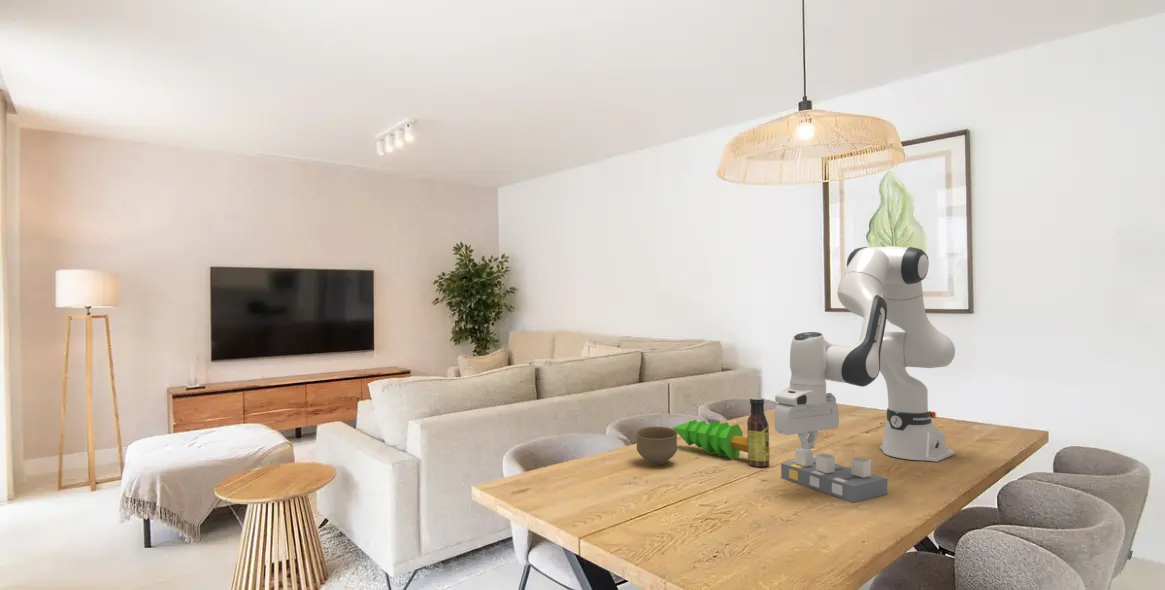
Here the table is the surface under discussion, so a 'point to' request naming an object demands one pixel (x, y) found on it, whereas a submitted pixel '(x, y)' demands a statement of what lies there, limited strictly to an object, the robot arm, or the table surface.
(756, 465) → the sauce bottle
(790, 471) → the console
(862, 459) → the knob
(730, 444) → the decorative tree
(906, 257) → the robot arm
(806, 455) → the knob
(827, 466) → the knob
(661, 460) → the bowl
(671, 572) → the table surface
